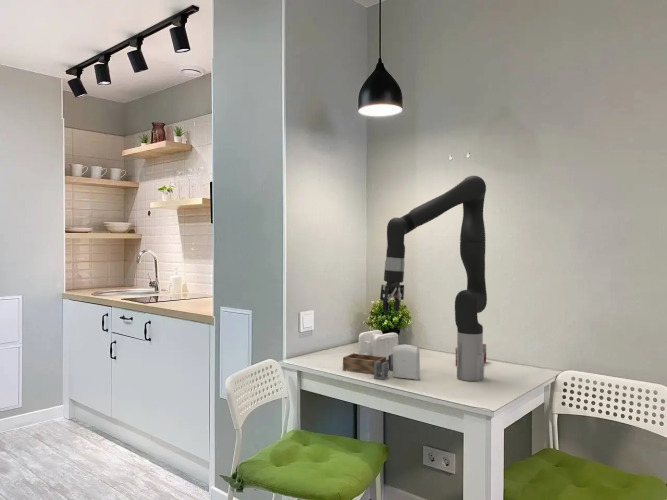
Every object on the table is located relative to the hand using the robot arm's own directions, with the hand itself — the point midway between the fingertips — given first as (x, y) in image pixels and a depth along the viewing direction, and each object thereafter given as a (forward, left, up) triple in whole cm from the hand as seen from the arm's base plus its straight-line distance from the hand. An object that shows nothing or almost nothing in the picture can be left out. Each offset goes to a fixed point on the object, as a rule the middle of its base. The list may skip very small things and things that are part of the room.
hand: (391, 311), depth 205 cm
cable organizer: (+14, -20, -24) cm, 34 cm away
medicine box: (-23, -31, -24) cm, 46 cm away
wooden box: (+11, 0, -24) cm, 26 cm away
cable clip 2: (+1, -6, -24) cm, 25 cm away
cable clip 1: (+1, +8, -24) cm, 25 cm away
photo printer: (-7, +3, -24) cm, 26 cm away
